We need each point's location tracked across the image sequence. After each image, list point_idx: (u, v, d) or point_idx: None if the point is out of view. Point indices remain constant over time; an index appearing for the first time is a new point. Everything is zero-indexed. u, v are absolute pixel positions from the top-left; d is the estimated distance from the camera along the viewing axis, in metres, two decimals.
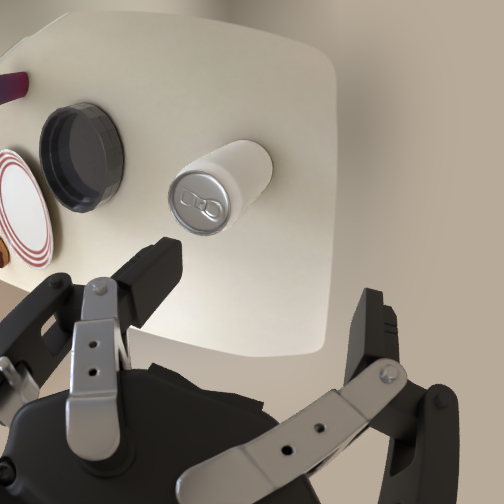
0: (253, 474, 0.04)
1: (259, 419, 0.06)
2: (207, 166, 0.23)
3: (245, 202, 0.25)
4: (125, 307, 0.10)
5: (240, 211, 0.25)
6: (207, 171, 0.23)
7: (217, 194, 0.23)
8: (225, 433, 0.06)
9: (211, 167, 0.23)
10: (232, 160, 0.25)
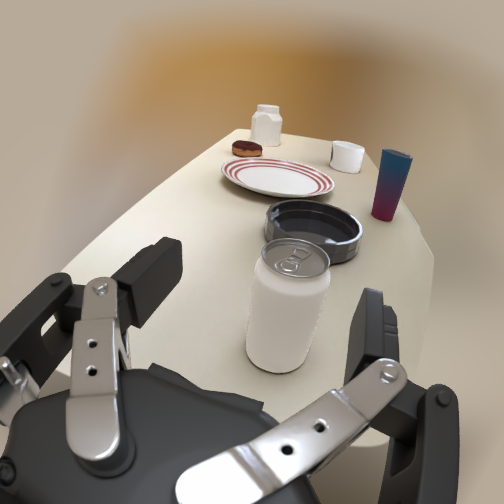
0: (253, 474, 0.04)
1: (259, 419, 0.06)
2: (328, 276, 0.24)
3: (280, 301, 0.23)
4: (125, 307, 0.10)
5: (276, 290, 0.23)
6: (326, 272, 0.24)
7: (303, 272, 0.23)
8: (225, 433, 0.06)
9: (326, 279, 0.24)
10: (318, 309, 0.25)
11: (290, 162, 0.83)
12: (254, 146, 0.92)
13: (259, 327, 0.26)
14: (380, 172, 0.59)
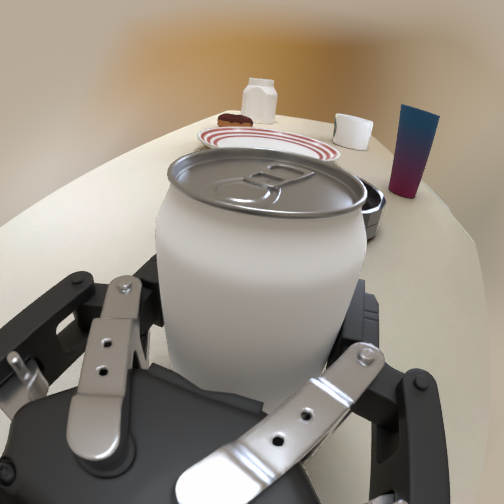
0: (249, 469, 0.05)
1: (259, 419, 0.06)
2: (363, 231, 0.08)
3: (213, 304, 0.07)
4: (149, 305, 0.10)
5: (196, 266, 0.07)
6: (359, 216, 0.08)
7: (289, 208, 0.07)
8: (225, 433, 0.06)
9: (361, 236, 0.08)
10: (335, 327, 0.09)
11: (285, 133, 0.67)
12: (243, 118, 0.76)
13: (179, 367, 0.10)
14: (399, 134, 0.42)
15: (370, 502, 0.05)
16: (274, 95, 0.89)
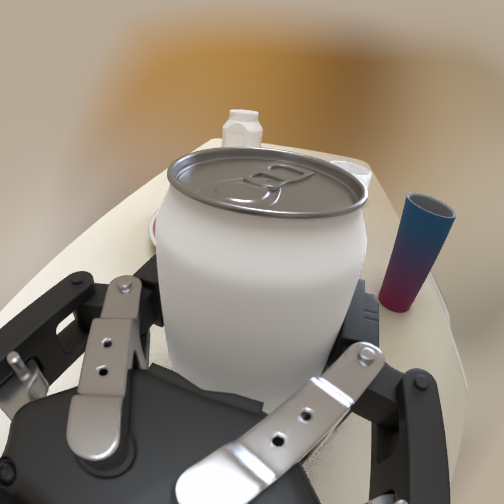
0: (249, 469, 0.05)
1: (259, 419, 0.06)
2: (363, 231, 0.08)
3: (213, 304, 0.07)
4: (149, 306, 0.10)
5: (196, 267, 0.07)
6: (359, 216, 0.08)
7: (290, 208, 0.07)
8: (225, 433, 0.06)
9: (361, 236, 0.08)
10: (335, 327, 0.09)
11: None
12: None
13: (179, 367, 0.10)
14: (399, 238, 0.34)
15: (370, 502, 0.05)
16: (258, 132, 0.80)
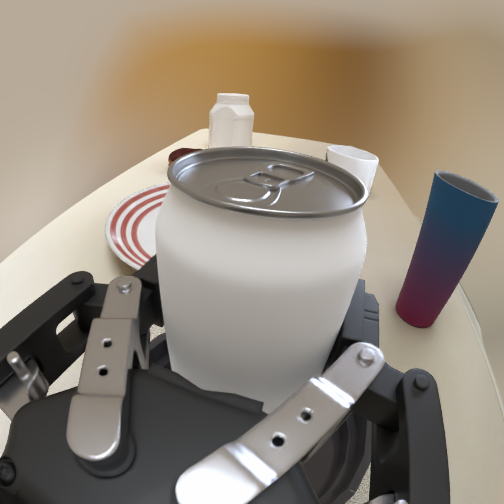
0: (249, 469, 0.05)
1: (259, 419, 0.06)
2: (363, 231, 0.08)
3: (214, 304, 0.07)
4: (149, 306, 0.10)
5: (197, 266, 0.07)
6: (359, 216, 0.08)
7: (290, 208, 0.07)
8: (225, 433, 0.06)
9: (362, 236, 0.08)
10: (335, 327, 0.09)
11: None
12: None
13: (179, 366, 0.10)
14: (427, 230, 0.24)
15: (370, 502, 0.05)
16: (249, 116, 0.70)
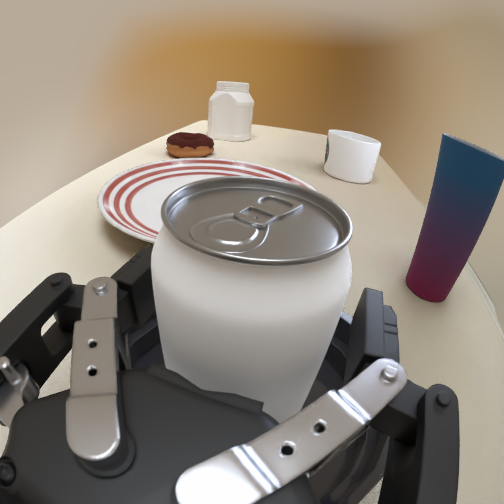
0: (253, 474, 0.04)
1: (259, 419, 0.06)
2: (348, 266, 0.09)
3: (205, 338, 0.08)
4: (125, 307, 0.10)
5: (188, 305, 0.07)
6: (343, 253, 0.08)
7: (276, 250, 0.08)
8: (225, 433, 0.06)
9: (345, 272, 0.08)
10: (320, 353, 0.09)
11: (250, 165, 0.47)
12: (198, 140, 0.55)
13: None
14: (437, 192, 0.22)
15: None
16: (249, 103, 0.69)
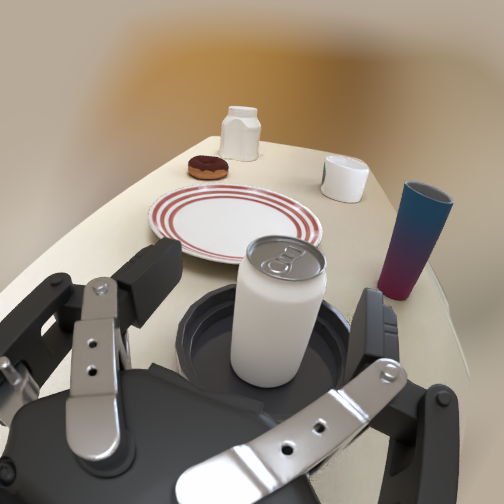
0: (253, 474, 0.04)
1: (259, 419, 0.06)
2: (323, 280, 0.21)
3: (267, 308, 0.20)
4: (125, 307, 0.10)
5: (262, 295, 0.20)
6: (321, 275, 0.20)
7: (295, 274, 0.20)
8: (225, 433, 0.06)
9: (322, 282, 0.20)
10: (312, 317, 0.21)
11: (261, 190, 0.59)
12: (216, 164, 0.68)
13: (243, 337, 0.22)
14: (398, 224, 0.35)
15: None
16: (257, 128, 0.81)
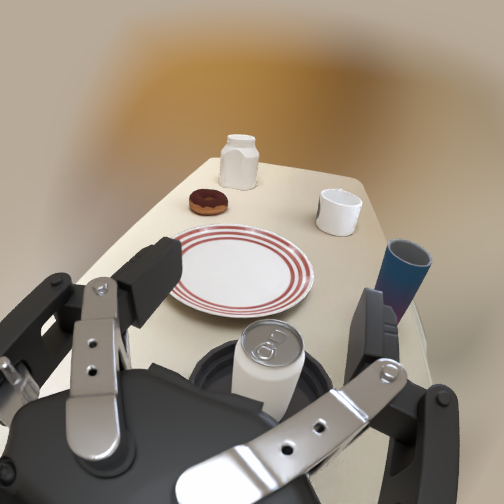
0: (253, 474, 0.04)
1: (259, 419, 0.06)
2: (301, 359, 0.26)
3: (257, 383, 0.25)
4: (125, 307, 0.10)
5: (253, 375, 0.24)
6: (299, 357, 0.25)
7: (278, 359, 0.25)
8: (225, 433, 0.06)
9: (300, 362, 0.25)
10: (293, 385, 0.26)
11: (258, 230, 0.64)
12: (216, 200, 0.72)
13: None
14: (379, 281, 0.39)
15: None
16: (255, 157, 0.86)
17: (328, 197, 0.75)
